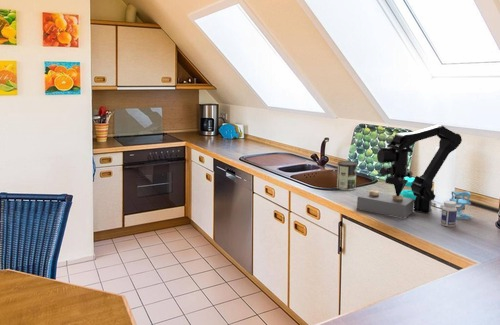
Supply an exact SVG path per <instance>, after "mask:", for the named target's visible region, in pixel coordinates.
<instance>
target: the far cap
mask: <svg viewBox="0 0 500 325" xmlns="http://www.w3.org/2000/svg"><path fill="white" fill-rule="evenodd" d="M368 191H369V195H370V196H373V197H378V196H379V193H380V191H379V190H376V189H375V190H374V189H373V190H372V189H371V190H368Z"/></svg>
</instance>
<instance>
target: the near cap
mask: <svg viewBox="0 0 500 325" xmlns="http://www.w3.org/2000/svg"><path fill="white" fill-rule="evenodd" d="M392 195H393V200H395V201H402V200H403V196H402V195H399V196H397V195H396V193H394V194H392Z"/></svg>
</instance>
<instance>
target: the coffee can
mask: <svg viewBox="0 0 500 325" xmlns="http://www.w3.org/2000/svg"><path fill="white" fill-rule="evenodd" d="M357 166H358V163H357V162H355V161H351V160H350V161H348V160H340V161H338V162H337V174H336V175H337V176H336V178H337V179H336V180H337V181H336V189H338V188H339V189H338V190H341V191H342V190H343V191H353V190H356V189H357V188H356V184H357V168H358V167H357Z"/></svg>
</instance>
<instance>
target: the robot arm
mask: <svg viewBox="0 0 500 325" xmlns="http://www.w3.org/2000/svg"><path fill="white" fill-rule="evenodd" d="M436 136H437V137H438V138H439V139H440V140H439V145H438V149H437V151H436V152H435V154H434V155H433V157H432V159H431V160H430V162H429V164H428V166H426V169H425V171H424V172H423V173H422V175H420V176H419V175H416V176H415V177H414V178H415V179H414V181H413V182H412V185H411V187H410V188H411V189H410V190H412V191H413V194H414V196H417V197H416V199H415V200H414V205H413V212H419V213H424V214H429V213H430V212H431V211H432V210H433V209H432V201H434V200H435V198H436V194H435V193H434V192H433V191H432V188H433V185H434V184H433V182H434V179H435V177H436V176H437V174H438V172H439V171H440V170H441V168H442V166H443V164H444V163H445V162H446V160H447V158H448V156H449V155H450V153H452V152H453V151H455V150H456V149H458V147H459V146H460V145H461V144H462V142H463V138H462V136H461V135H460V134H459V133H456V132H454V131H452V130H450V129H448V128H447V127H445V126H444V125H440V124H434V125H433V126H429V127H425V128H422V129H418V130H415V131H411V132H398V133H395V134H394V136H393V138H392V139H391V141H390V143H389V144H388V145H387V147H384V146H382V147H380V148H379V150H378V152H377V154H376V159H377V161H378V163H380V164H384V163H385V164H387V163H389V164H390V163H391V166H387V167H386V166H380V169H379V175H381V177H385V176H387V175H388V176H387V177H385V181H384V182H385V184H388V185H389V184H390V185H393V187H394V191H395V194H396V195H397V196H399V195H400V194H401V192H402V191H403V190H404V189H405V187H406V186H405V185H406V183H407V182H408V180H405V177H409V178H412V177H413V172H412V171H411V170H408V167H409V163H408V159H409V157H408V156H409V153H413V152H414V150H413V149H412V148H411V146H413V145H414V144H415V143H417V142H419V141H422V140H425V139H428V138H429V139H430V138H432V137H436Z"/></svg>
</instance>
